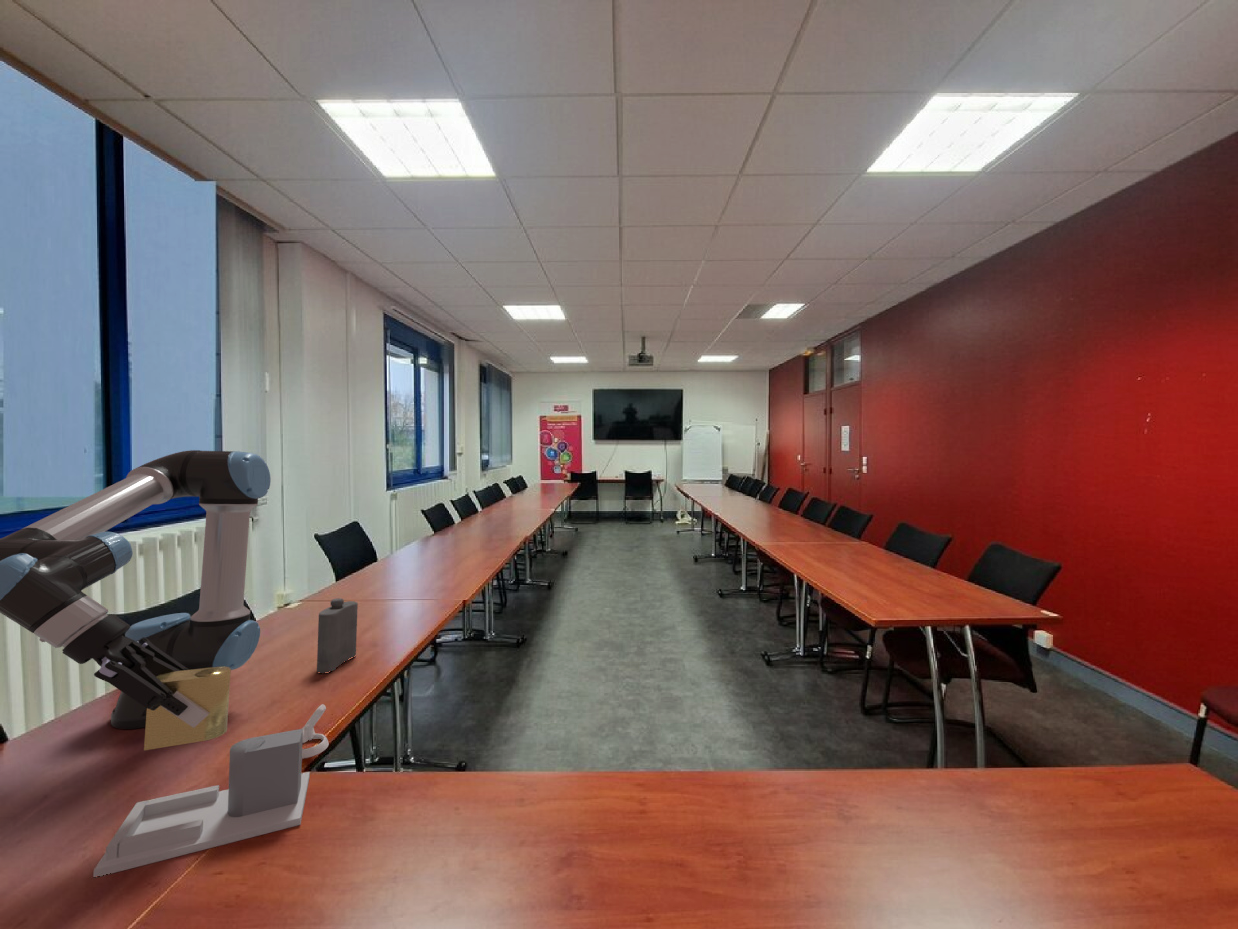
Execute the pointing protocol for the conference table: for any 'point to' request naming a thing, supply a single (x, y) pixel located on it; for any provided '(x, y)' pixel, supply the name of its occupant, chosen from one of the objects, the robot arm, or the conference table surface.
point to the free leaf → (203, 690)
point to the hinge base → (217, 807)
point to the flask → (336, 634)
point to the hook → (310, 734)
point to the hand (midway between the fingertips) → (206, 712)
